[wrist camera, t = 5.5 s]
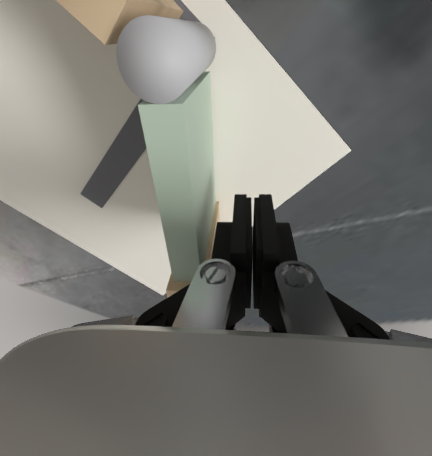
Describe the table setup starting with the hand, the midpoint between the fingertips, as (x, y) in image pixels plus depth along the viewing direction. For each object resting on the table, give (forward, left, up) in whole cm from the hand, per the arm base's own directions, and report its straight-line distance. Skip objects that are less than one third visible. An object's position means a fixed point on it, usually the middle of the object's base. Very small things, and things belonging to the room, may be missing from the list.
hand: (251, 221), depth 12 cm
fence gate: (-4, 0, -4) cm, 5 cm away
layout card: (-6, -4, -5) cm, 9 cm away
